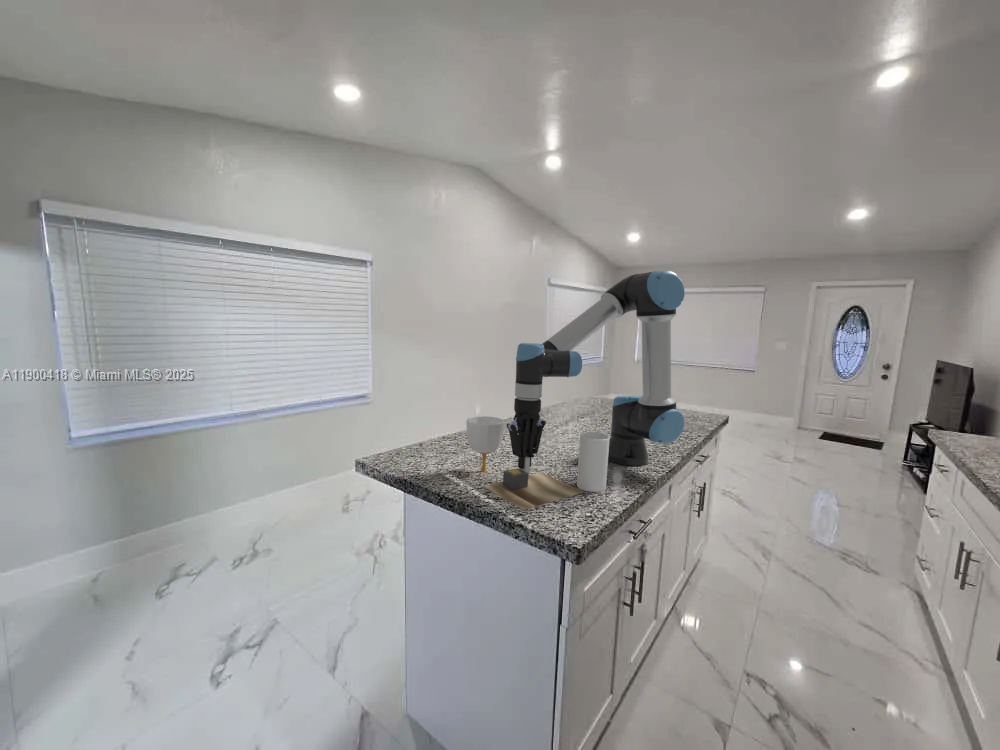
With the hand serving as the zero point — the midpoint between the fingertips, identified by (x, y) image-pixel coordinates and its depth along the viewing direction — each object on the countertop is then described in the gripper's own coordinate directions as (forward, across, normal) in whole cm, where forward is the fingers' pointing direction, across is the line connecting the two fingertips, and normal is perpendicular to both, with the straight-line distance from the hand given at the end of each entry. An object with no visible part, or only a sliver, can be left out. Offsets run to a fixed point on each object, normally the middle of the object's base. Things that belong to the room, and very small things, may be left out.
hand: (523, 478), depth 122 cm
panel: (+3, 0, +4) cm, 5 cm away
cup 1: (+3, +4, -14) cm, 15 cm away
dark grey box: (+2, +3, 0) cm, 4 cm away
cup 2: (+3, -16, +12) cm, 20 cm away
